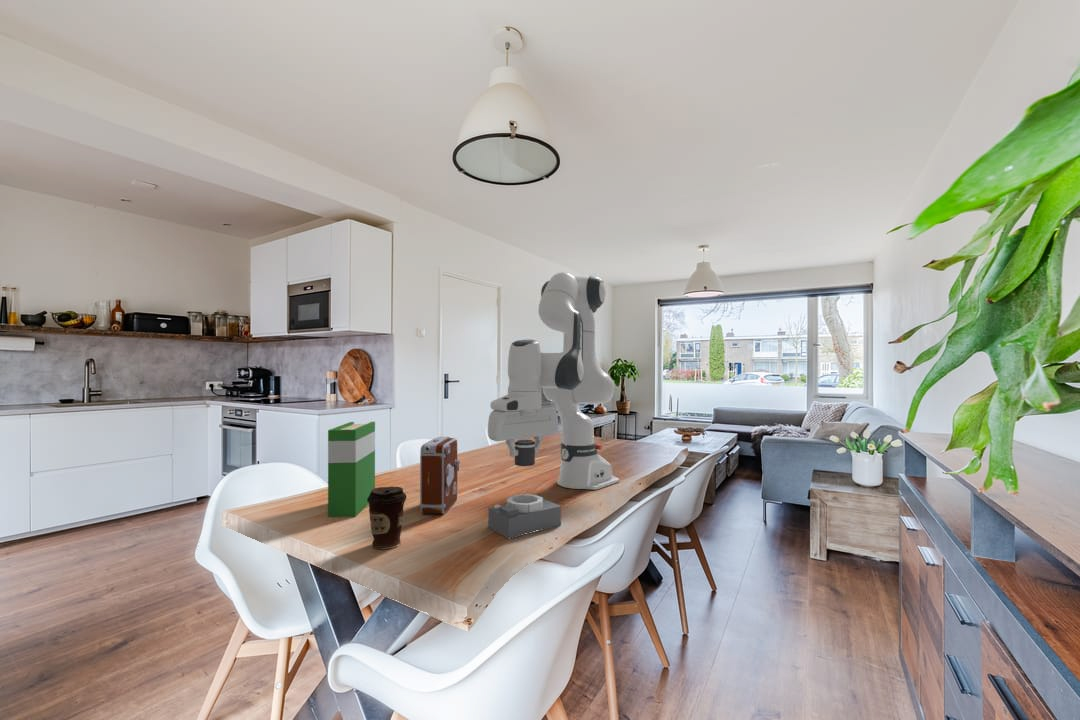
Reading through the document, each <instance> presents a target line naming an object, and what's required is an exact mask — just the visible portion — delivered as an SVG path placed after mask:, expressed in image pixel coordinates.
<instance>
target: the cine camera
mask: <svg viewBox="0 0 1080 720" xmlns="http://www.w3.org/2000/svg"><path fill="white" fill-rule="evenodd" d="M419 452H420V456H419V462H420V463H419V465H420V467H419V469H420V471H419V472H420V473H419V475H420V478H419V479H420V481H419V483H420V484H419V486H420V490H419V493H420V495H419V496H420V498H419V499H420V500H419V502H420V503H419V504H420V505H419V506H420V513H421V514H423V515H424V514H425V515H426V514H428V515H444V514H446V513H448V511H449V510H450V509H451V508H452V507H453V505H455V503H457V500H458V472H459V471H460V463H461V461H460V460H458V440H457V439H456V438H455V437H450V436H438V437H434V438H433V439H431V440H428V441H427V442H425V443H423V444H422V445H421V447H420V451H419Z"/></svg>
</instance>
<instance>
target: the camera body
mask: <svg viewBox="0 0 1080 720" xmlns="http://www.w3.org/2000/svg"><path fill="white" fill-rule="evenodd" d="M487 516H488V519H487V520H488V525H487V526H488V528H489V529H491V530H493V531H495V532H496V533H498V534H499V533H500V535H501V534H502V535H501V536H503V537H505V536H506V537H507V538H506V537H505V538H506V539H508V538H512V537H515V536H518V535H522V534H525V533H530V532H533V531H536V530H541V529H545V528H549V529H551V528H550V527H552V528H555V527H554V526H556V527H559V526H562V506H561V505H559V504H557V503H554V502H553V501H550V500H547V499H545V498H543V497H542V496H539V495H537V494H530V493H521V494H520V493H519V494H515V495H510V496H509V497H508V498H506V503H504V504H494V506H489V507H488V515H487ZM545 530H546V529H545ZM541 531H542V530H541ZM530 534H531V533H530ZM515 538H516V537H515ZM512 539H513V538H512Z"/></svg>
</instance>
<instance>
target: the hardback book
mask: <svg viewBox="0 0 1080 720" xmlns="http://www.w3.org/2000/svg"><path fill="white" fill-rule="evenodd" d="M327 439H328V440H327V497H328V498H327V517H328V518H356V517H357V516H358V515H359V514H361V512H362V511H363V510H364V509H365V508H366V507H367V506H369V502H368V501H367V498H368V497H369V495H370V493H371V490H372V489H375V488H376V421H370V422H368V423H355V422H354V421H349V422H347V423H343V424H342V425H338V426H336V427H334V428H330V429H328V430H327Z"/></svg>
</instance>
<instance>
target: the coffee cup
mask: <svg viewBox="0 0 1080 720" xmlns="http://www.w3.org/2000/svg"><path fill="white" fill-rule="evenodd" d="M367 501H368V502H369V504H368V507H369V508H368V513H369V521H370V533H371V535H372V537H373V539H372V543H371V546H372V547H373V548H374V549H378V550H388V549H394V548H398V547H399V546H400V545H401V544H402V541H401V533H402V528H403V520H404V505H405V502H406V501H407V494H406V493H405V492H404V488H402V487H401V486H380V487H379V486H378V487H375V489H372V490H371V493H370V495H369V497H368V498H367Z"/></svg>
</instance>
